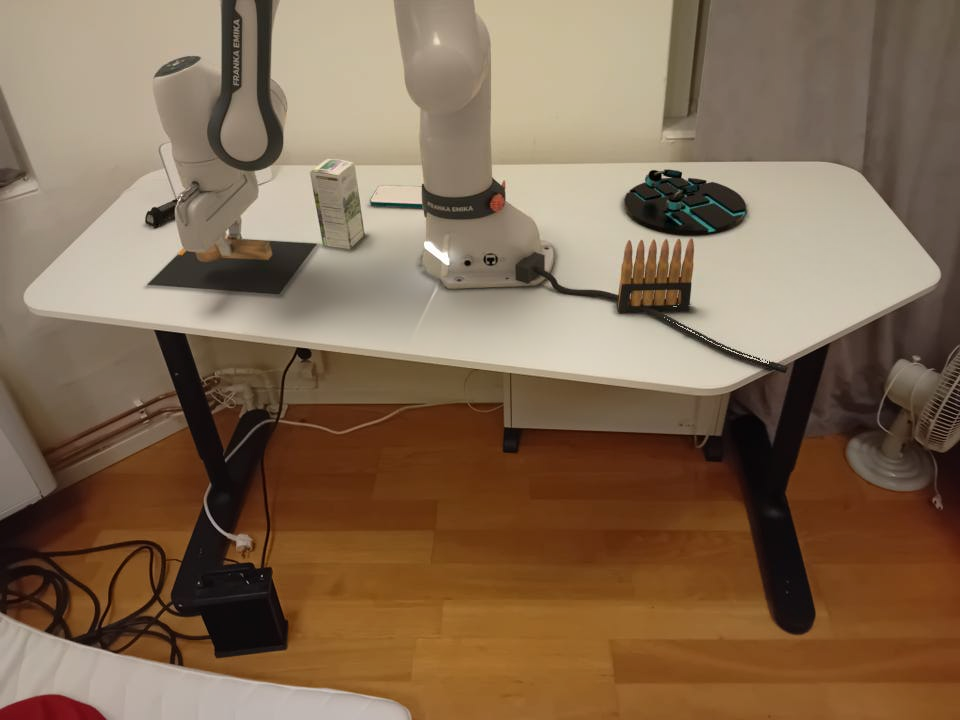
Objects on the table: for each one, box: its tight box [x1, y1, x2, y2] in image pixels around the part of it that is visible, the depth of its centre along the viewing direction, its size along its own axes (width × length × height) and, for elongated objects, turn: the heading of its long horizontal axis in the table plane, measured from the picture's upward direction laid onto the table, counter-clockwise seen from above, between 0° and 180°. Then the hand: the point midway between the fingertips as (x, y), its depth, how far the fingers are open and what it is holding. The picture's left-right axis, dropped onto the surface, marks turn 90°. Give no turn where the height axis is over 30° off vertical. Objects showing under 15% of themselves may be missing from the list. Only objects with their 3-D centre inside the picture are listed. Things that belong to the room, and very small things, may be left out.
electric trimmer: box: [144, 198, 178, 229], centre depth 148 cm, size 4×16×3 cm, turn 142°
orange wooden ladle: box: [195, 239, 272, 262], centre depth 123 cm, size 13×5×3 cm, turn 78°
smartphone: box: [369, 184, 423, 209], centre depth 148 cm, size 8×1×16 cm
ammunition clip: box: [616, 237, 695, 314], centre depth 110 cm, size 11×2×12 cm, turn 88°
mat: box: [147, 237, 318, 296], centre depth 130 cm, size 24×17×1 cm
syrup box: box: [309, 158, 365, 250], centre depth 131 cm, size 6×6×14 cm
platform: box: [623, 168, 747, 236], centre depth 138 cm, size 22×22×6 cm
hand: (232, 248), depth 123 cm, fingers closed on orange wooden ladle, 2 cm apart
